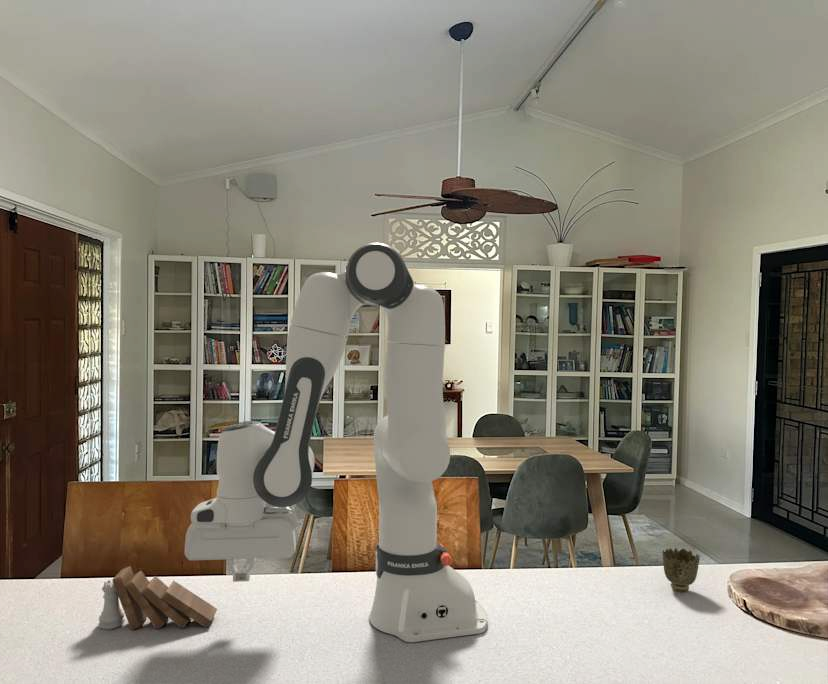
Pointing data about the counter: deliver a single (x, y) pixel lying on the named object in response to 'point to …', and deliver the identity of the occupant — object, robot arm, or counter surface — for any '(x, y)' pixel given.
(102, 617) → the rook chess piece
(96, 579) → the counter surface
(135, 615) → the domino
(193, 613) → the domino
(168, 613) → the domino
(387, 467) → the robot arm
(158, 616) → the domino
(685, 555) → the cup
